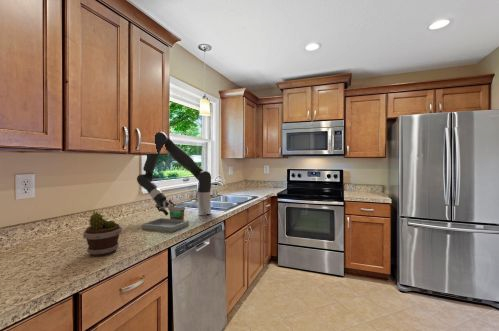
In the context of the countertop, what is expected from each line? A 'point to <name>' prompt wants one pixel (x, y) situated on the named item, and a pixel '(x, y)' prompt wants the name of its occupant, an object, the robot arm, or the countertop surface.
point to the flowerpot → (102, 235)
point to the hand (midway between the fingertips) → (171, 213)
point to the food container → (176, 212)
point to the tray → (165, 225)
